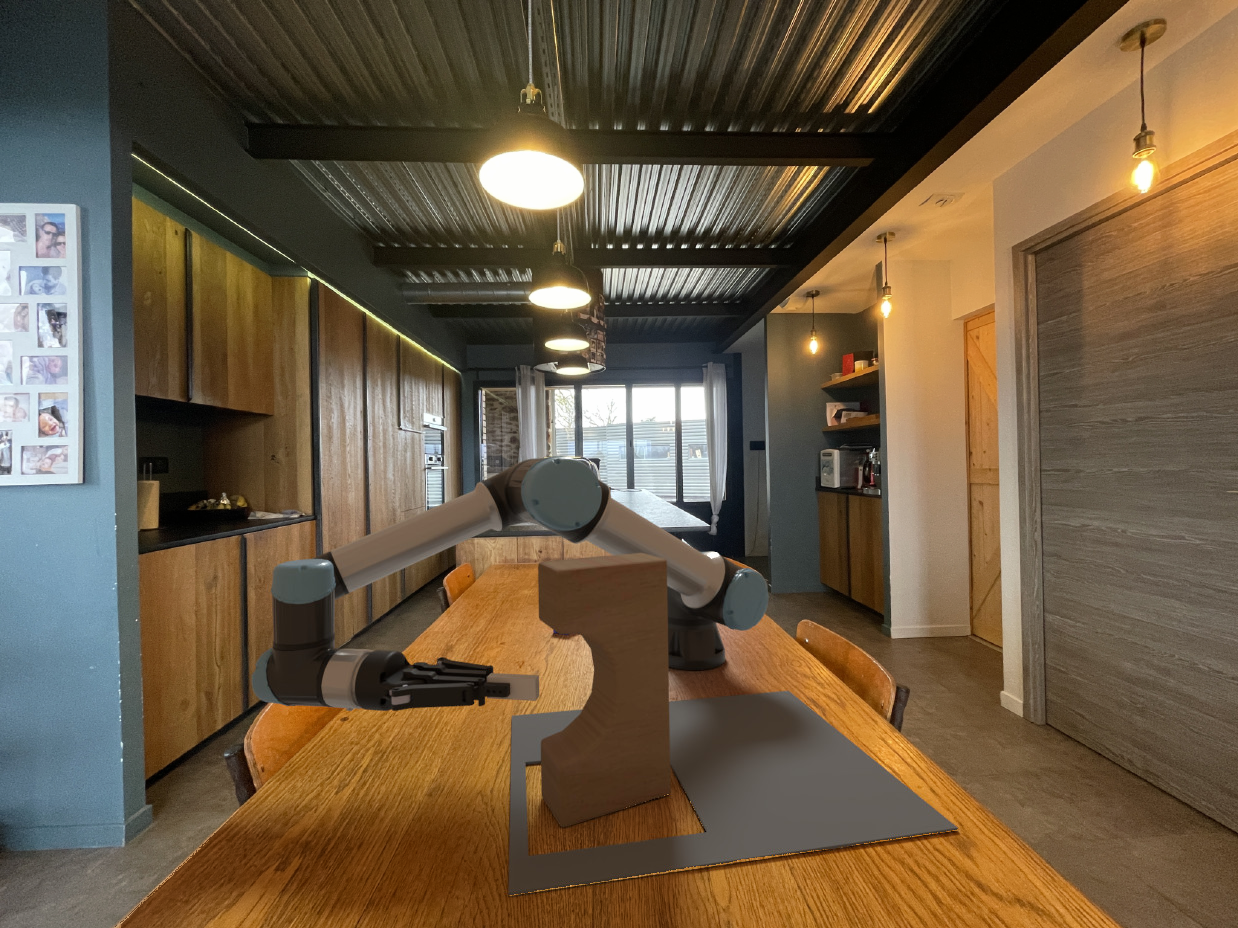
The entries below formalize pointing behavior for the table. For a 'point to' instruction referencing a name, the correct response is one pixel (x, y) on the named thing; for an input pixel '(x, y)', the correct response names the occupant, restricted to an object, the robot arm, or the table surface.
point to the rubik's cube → (558, 633)
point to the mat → (732, 792)
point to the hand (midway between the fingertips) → (537, 687)
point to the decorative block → (610, 685)
